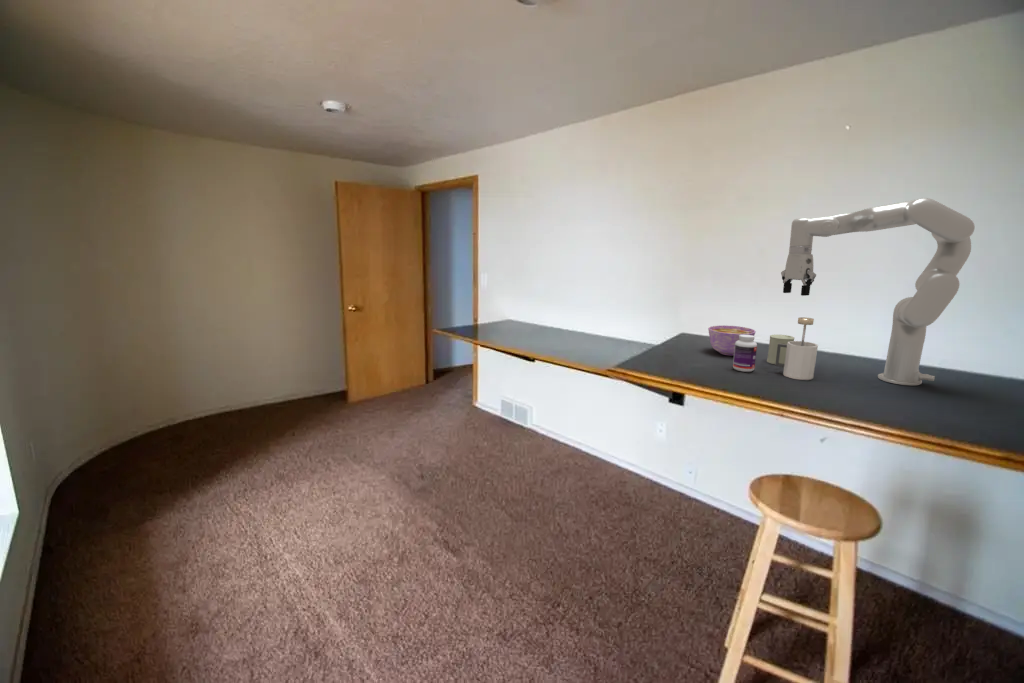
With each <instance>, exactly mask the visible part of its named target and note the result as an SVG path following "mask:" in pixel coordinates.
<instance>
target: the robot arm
mask: <svg viewBox="0 0 1024 683" xmlns="http://www.w3.org/2000/svg"><path fill="white" fill-rule="evenodd" d="M914 225H916V226H919V227H920V228H923V229H925V230H926V231H928V232H929V233H931V236H932V237H933V239H934V240H935V241H936V244H937V245H936V246H937V248H936V251H935V253H934V254H933V257H932V258H931V259H930V261H929V263H927V265H926V267H925V268H924V269H923V271H921V274H920V275H919V276H918V277H917V279H916V281H915V283H914V285H915V286H914V287H915V289H916V292H915V294H914V295H913V296H910V297H909V296H908V297H905V298H903V299H900V300H899V301H898V302H897V303H896V305H895V307H894V309H893V312H892V313H893V314H892V324H891V325H892V326H891V333H890V339H889V343H888V348H887V349H888V350H887V353H886V354H887V355H886V359H885V364H884V371H883V372H882V373H878V374H877V378H878V379H879V380H881V381H883V382H886V383H891V384H895V385H900V386H920V385H922V383H923V380H924V381H929V382H934V381H935V377H936V376H935V375H930V374H928V373H922V372H920V369H919V368H920V364H921V359H922V355H923V349H924V345H925V341H926V340H925V339H926V335H927V327H928V326H930V325H932V324H933V323H935V322H936V320H938V319H939V317H940V316H941V315H942V313H943V312H944V311H945V309H946V308H947V307H948V305H949V304H950V303H951V302H952V300H954V298H955V296H956V295H957V293H958V291H959V288H960V284H961V283H960V280H959V278H958V276H957V275H958V274H959V273H960V271H961V270H962V269H963V267H964V265H965V264H966V262H967V261H968V259H969V257H970V254H971V252H972V240H971V236H972V235H973V233H974V232H975V223H974V220H972V218H969V217H968V216H967V215H964V214H963V213H960V211H959V212H958V211H956V210H954V209H953V208H951V207H948V206H946V205H945V204H943V203H941V202H940V201H937V200H935V199H932V198H929V197H921V198H917V199H912V200H906V201H901V202H896V203H895V202H894V203H889V204H884V205H877V206H872V207H868V208H864V209H862V210H857V211H853V212H849V213H843V214H837V215H836V214H835V215H832V216H822V217H815V218H812V217H804V218H795V219H793V220H792V222H791V230H790V240H789V249H788V255H787V259H786V263H785V268H784V269H783V270H782V271H781V272H780V274H781V279H782V283H783V287H782V288H783V290H782V293H783V294H791V293H792V287H793V283H792V281H793V280H795V281H801V282H802V285H801V288H800V289H801V290H800V291H801V292H800V296H802V297H803V296H809V295H810V294H811V293H810V291H811V286H812V285H813V283H814V282H815V279H816V277H817V274H816V273H815V272H814V257H813V256H814V255H813V254H812V252H813V242H814V237H822V238H827V237H828V238H829V237H832V236H837V235H844V234H850V233H851V234H852V233H859V232H860V233H861V232H862V233H863V232H865V233H867V232H874V231H882V230H886V229H895V228H900V227H906V226H907V227H908V226H914Z"/></svg>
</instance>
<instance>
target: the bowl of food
mask: <svg viewBox="0 0 1024 683" xmlns="http://www.w3.org/2000/svg"><path fill="white" fill-rule="evenodd" d="M707 330H708V335H709V336H708V337H709V341H710V342H709V343H710V345H711V347H712V349H713V350H715V351H717V352H718V353H719V354H721V355H724V356H731V357H732V356H733V357H734V350H735V343H736V341H738V340H740V339H739V335H752V336H754V337H755V335H756V332H757V331H756V330H755V329H753V328H750V327H744V326H740V325H739V326H737V325H713V326H708V328H707Z"/></svg>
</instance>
